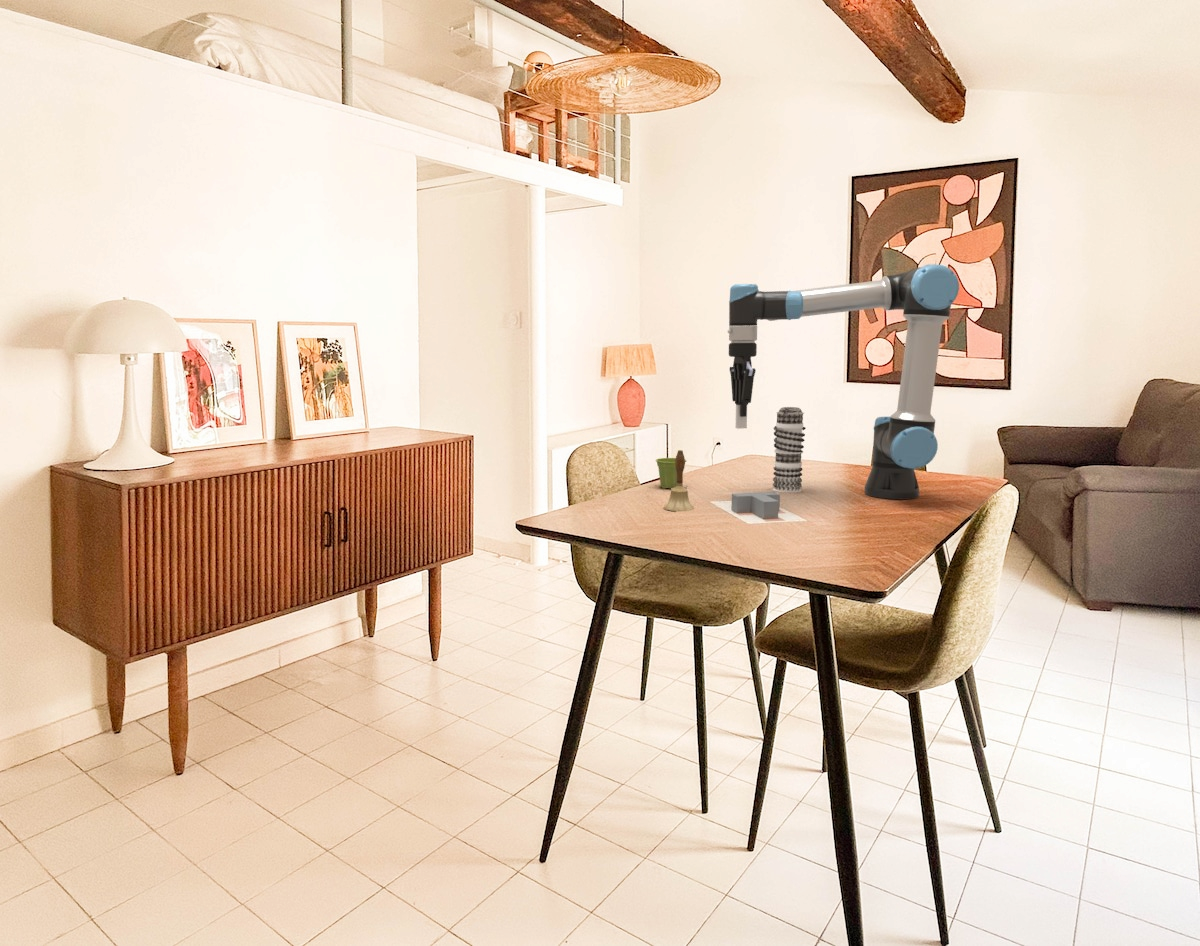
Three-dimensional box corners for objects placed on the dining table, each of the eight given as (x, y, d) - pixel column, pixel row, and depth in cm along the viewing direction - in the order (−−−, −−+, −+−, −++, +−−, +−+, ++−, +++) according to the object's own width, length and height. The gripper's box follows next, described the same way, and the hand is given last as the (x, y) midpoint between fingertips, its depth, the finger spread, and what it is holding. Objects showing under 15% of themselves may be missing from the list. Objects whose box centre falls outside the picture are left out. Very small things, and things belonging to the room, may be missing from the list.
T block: (773, 508, 225) (773, 491, 225) (792, 517, 214) (793, 500, 213) (731, 510, 223) (731, 493, 222) (748, 519, 211) (749, 502, 210)
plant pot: (649, 486, 258) (650, 458, 257) (676, 483, 262) (676, 456, 261) (664, 491, 250) (665, 462, 249) (691, 489, 254) (692, 460, 253)
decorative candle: (778, 486, 258) (781, 405, 254) (807, 489, 253) (811, 407, 249) (766, 490, 251) (769, 408, 247) (795, 494, 245) (798, 409, 241)
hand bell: (700, 508, 226) (701, 450, 223) (681, 513, 220) (682, 453, 217) (676, 504, 232) (677, 447, 229) (657, 508, 226) (658, 450, 223)
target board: (762, 499, 237) (762, 499, 237) (807, 521, 210) (807, 520, 210) (709, 502, 234) (709, 501, 234) (748, 524, 207) (748, 523, 207)
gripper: (721, 342, 232) (719, 426, 236) (738, 342, 220) (737, 431, 224) (746, 341, 234) (744, 425, 238) (765, 342, 222) (763, 430, 225)
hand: (741, 428), depth 231 cm, fingers closed
